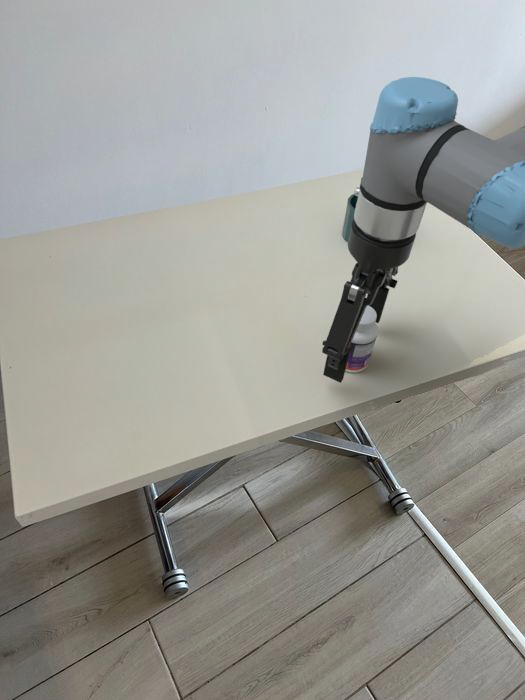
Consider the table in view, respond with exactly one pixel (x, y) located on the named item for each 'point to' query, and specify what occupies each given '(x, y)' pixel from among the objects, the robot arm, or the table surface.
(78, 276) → the table surface
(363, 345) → the pill bottle
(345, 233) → the cup
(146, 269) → the table surface
